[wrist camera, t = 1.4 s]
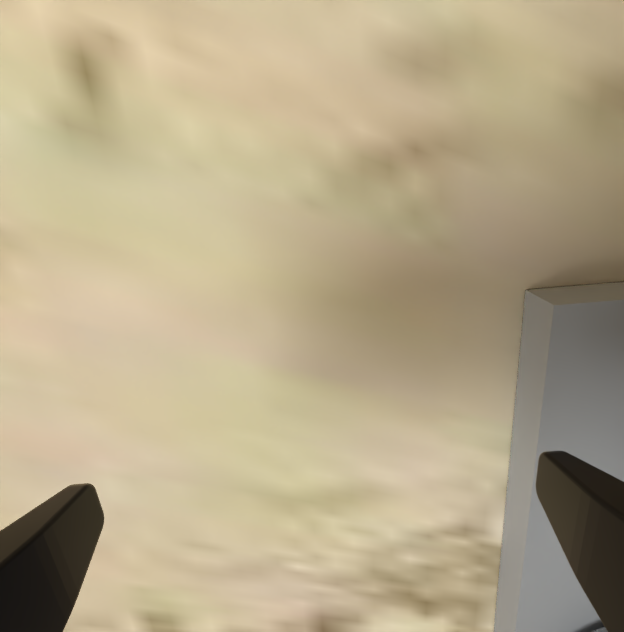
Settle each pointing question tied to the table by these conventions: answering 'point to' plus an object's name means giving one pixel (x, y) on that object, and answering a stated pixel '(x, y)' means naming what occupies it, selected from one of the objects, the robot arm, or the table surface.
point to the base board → (559, 445)
